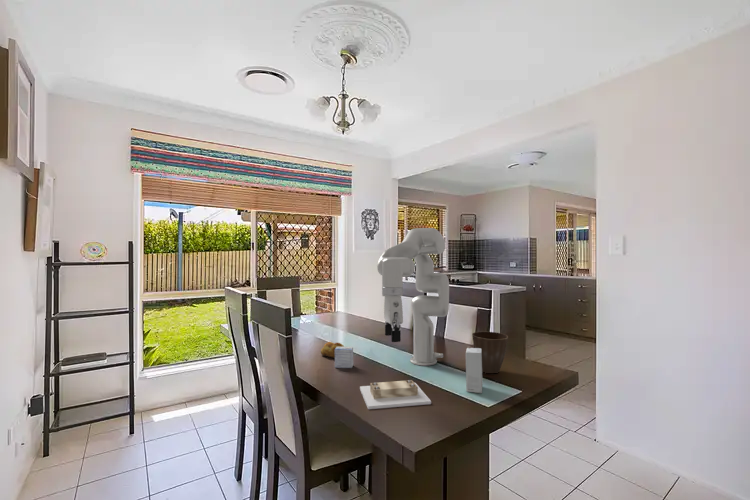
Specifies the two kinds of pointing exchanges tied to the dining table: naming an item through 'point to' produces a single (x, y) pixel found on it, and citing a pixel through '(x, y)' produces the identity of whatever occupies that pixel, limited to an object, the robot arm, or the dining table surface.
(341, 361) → the medicine box
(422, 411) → the dining table surface
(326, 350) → the bread roll
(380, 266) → the robot arm
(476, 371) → the skincare box
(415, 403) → the chassis plate
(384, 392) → the birch board
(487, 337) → the plant pot
